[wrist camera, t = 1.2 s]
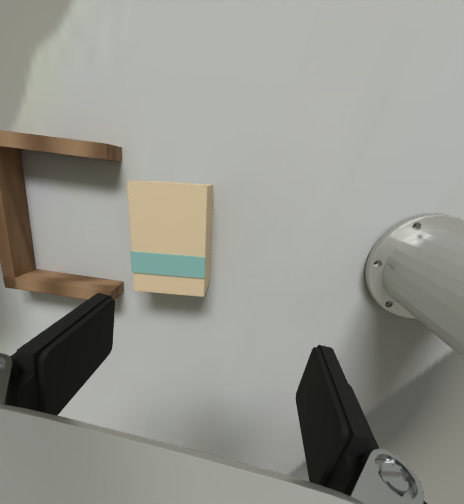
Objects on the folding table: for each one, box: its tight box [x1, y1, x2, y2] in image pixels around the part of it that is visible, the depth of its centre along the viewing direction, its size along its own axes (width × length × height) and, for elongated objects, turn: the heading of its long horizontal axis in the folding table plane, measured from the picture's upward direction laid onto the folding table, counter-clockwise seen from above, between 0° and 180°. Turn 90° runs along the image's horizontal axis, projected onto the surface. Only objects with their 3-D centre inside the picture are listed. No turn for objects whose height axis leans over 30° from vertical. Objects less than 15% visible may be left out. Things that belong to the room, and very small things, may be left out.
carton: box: [127, 181, 213, 297], centre depth 28 cm, size 8×12×5 cm
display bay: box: [0, 130, 123, 300], centre depth 28 cm, size 14×18×3 cm
